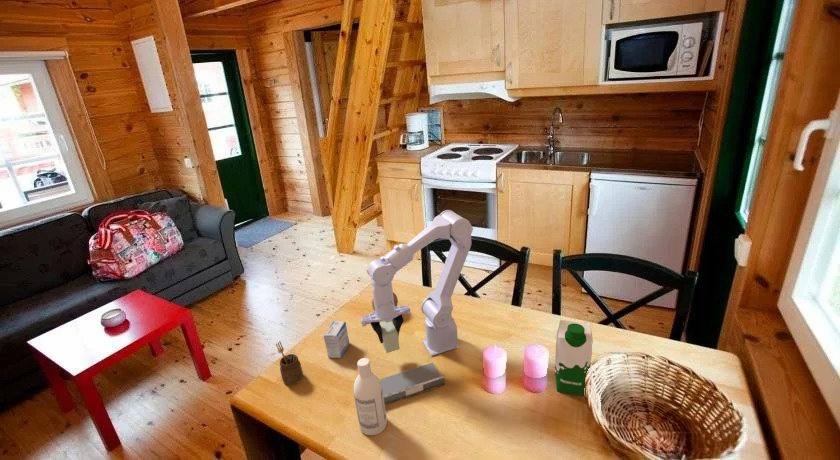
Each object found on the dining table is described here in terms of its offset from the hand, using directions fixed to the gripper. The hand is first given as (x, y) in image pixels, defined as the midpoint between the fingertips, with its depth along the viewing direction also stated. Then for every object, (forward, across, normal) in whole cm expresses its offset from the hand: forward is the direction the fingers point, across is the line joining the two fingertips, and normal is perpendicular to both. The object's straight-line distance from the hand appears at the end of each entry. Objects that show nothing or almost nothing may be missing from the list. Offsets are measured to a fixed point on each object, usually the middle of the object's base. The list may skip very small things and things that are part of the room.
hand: (388, 339), depth 121 cm
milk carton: (+9, +42, -30) cm, 52 cm away
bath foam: (+9, -11, -21) cm, 25 cm away
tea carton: (+2, 0, 0) cm, 2 cm away
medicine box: (+9, -14, +13) cm, 21 cm away
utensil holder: (+9, -29, +6) cm, 31 cm away
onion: (+9, +6, +27) cm, 29 cm away
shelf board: (+9, +1, -11) cm, 14 cm away
